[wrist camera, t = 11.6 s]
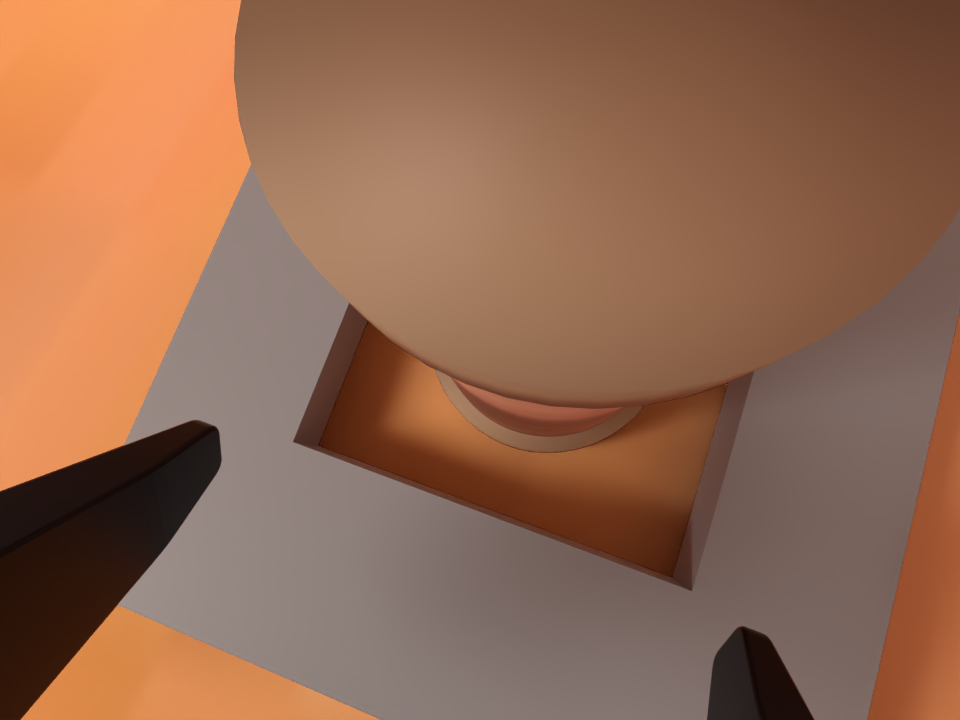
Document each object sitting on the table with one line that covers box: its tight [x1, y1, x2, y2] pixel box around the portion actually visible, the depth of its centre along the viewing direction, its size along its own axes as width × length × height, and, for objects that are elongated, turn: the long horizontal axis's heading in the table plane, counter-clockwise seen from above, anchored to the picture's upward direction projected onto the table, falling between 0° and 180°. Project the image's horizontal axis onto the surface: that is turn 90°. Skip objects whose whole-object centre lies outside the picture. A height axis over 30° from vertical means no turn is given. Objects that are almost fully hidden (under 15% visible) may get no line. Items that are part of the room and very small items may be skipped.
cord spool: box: [234, 0, 960, 453], centre depth 12 cm, size 7×7×13 cm
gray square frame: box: [118, 164, 960, 720], centre depth 17 cm, size 19×20×2 cm
